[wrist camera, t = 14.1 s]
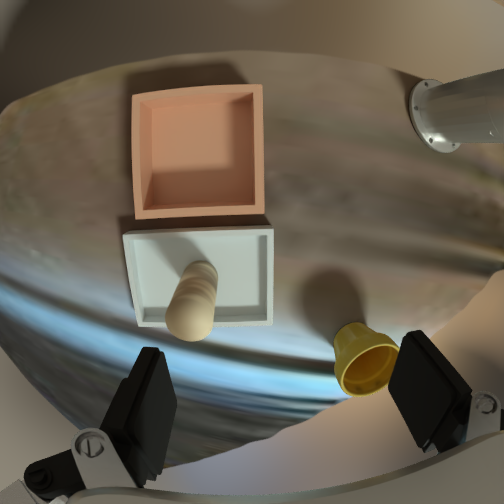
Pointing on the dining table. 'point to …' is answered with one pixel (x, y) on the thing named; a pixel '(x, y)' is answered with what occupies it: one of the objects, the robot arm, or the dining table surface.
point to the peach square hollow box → (198, 151)
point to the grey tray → (210, 250)
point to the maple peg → (193, 302)
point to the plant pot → (363, 359)
